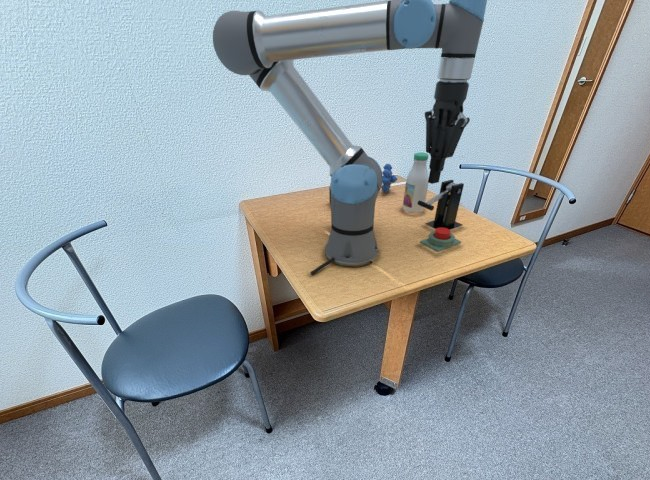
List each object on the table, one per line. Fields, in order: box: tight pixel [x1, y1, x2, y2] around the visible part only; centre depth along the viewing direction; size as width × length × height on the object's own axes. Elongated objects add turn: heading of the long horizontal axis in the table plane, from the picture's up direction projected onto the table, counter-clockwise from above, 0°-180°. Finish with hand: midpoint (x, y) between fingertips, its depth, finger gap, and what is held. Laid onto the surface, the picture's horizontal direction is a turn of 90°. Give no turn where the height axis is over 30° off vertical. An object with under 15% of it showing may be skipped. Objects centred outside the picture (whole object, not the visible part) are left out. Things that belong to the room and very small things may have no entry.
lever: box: [417, 182, 457, 212], centre depth 100 cm, size 13×6×2 cm, turn 123°
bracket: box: [424, 179, 465, 231], centre depth 104 cm, size 10×8×15 cm
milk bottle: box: [402, 152, 429, 214], centre depth 113 cm, size 8×8×20 cm
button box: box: [419, 230, 462, 253], centre depth 97 cm, size 10×7×4 cm
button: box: [434, 227, 452, 240], centre depth 96 cm, size 4×4×2 cm
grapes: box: [381, 163, 398, 194], centre depth 131 cm, size 12×7×12 cm, turn 165°
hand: (433, 182), depth 91 cm, fingers closed
